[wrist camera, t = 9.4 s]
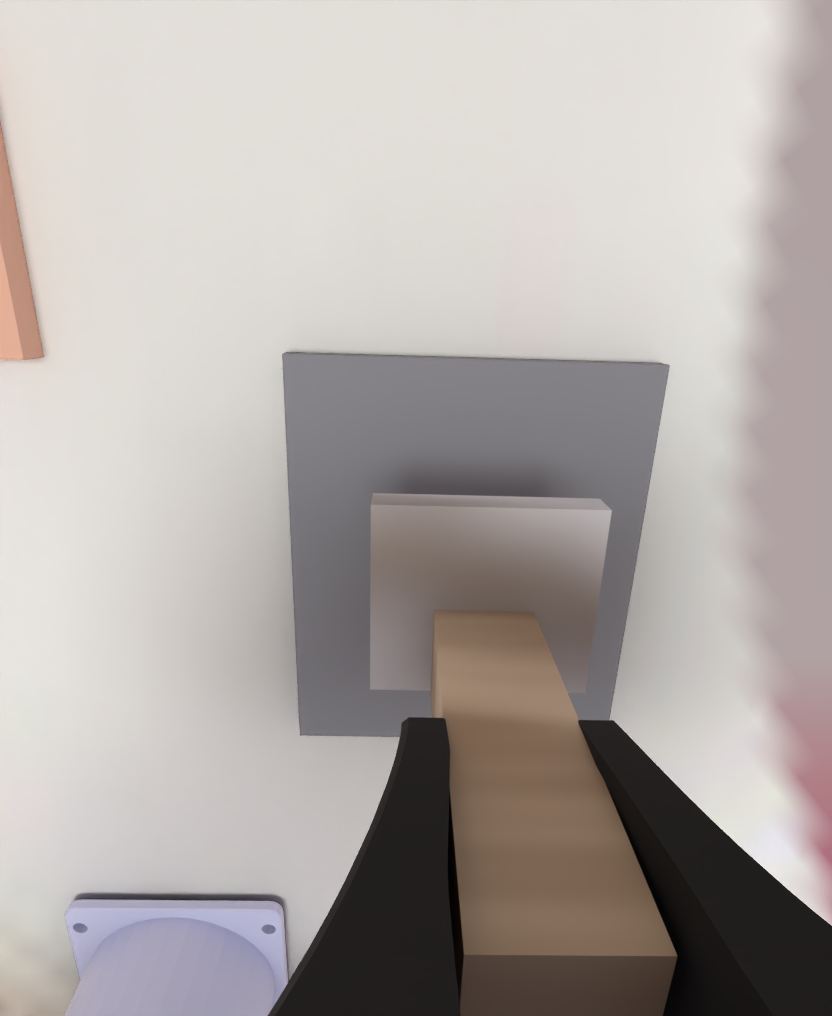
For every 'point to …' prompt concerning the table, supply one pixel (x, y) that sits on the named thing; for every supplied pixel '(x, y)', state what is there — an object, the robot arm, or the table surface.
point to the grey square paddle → (517, 749)
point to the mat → (449, 493)
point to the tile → (14, 279)
